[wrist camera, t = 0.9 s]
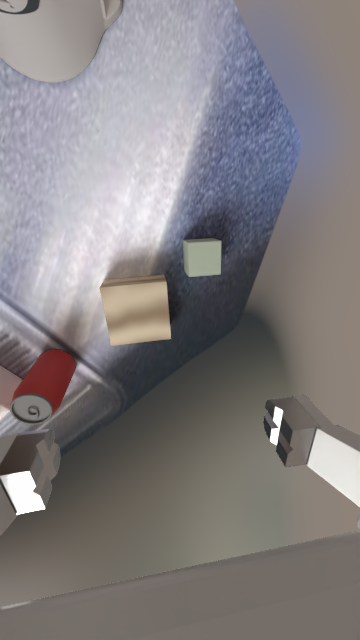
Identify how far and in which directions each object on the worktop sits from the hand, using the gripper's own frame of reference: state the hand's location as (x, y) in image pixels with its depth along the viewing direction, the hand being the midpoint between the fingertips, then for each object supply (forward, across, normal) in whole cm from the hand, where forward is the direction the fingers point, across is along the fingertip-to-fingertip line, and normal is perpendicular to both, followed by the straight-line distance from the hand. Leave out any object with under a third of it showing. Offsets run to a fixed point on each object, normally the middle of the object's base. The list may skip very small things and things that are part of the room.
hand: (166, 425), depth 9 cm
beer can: (+34, +18, +17) cm, 42 cm away
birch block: (+34, +2, +7) cm, 35 cm away
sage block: (+34, -9, -1) cm, 35 cm away
